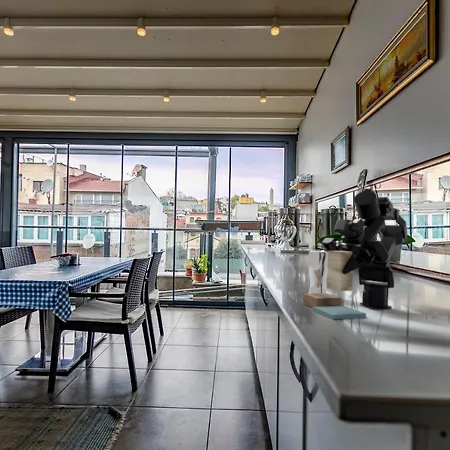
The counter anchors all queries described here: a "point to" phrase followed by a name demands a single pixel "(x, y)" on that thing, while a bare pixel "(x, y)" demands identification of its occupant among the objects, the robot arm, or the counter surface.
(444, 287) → the counter surface
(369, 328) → the counter surface
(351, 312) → the teal mat
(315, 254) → the beer glass
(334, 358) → the counter surface
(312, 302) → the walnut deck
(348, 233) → the robot arm
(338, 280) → the maple block
